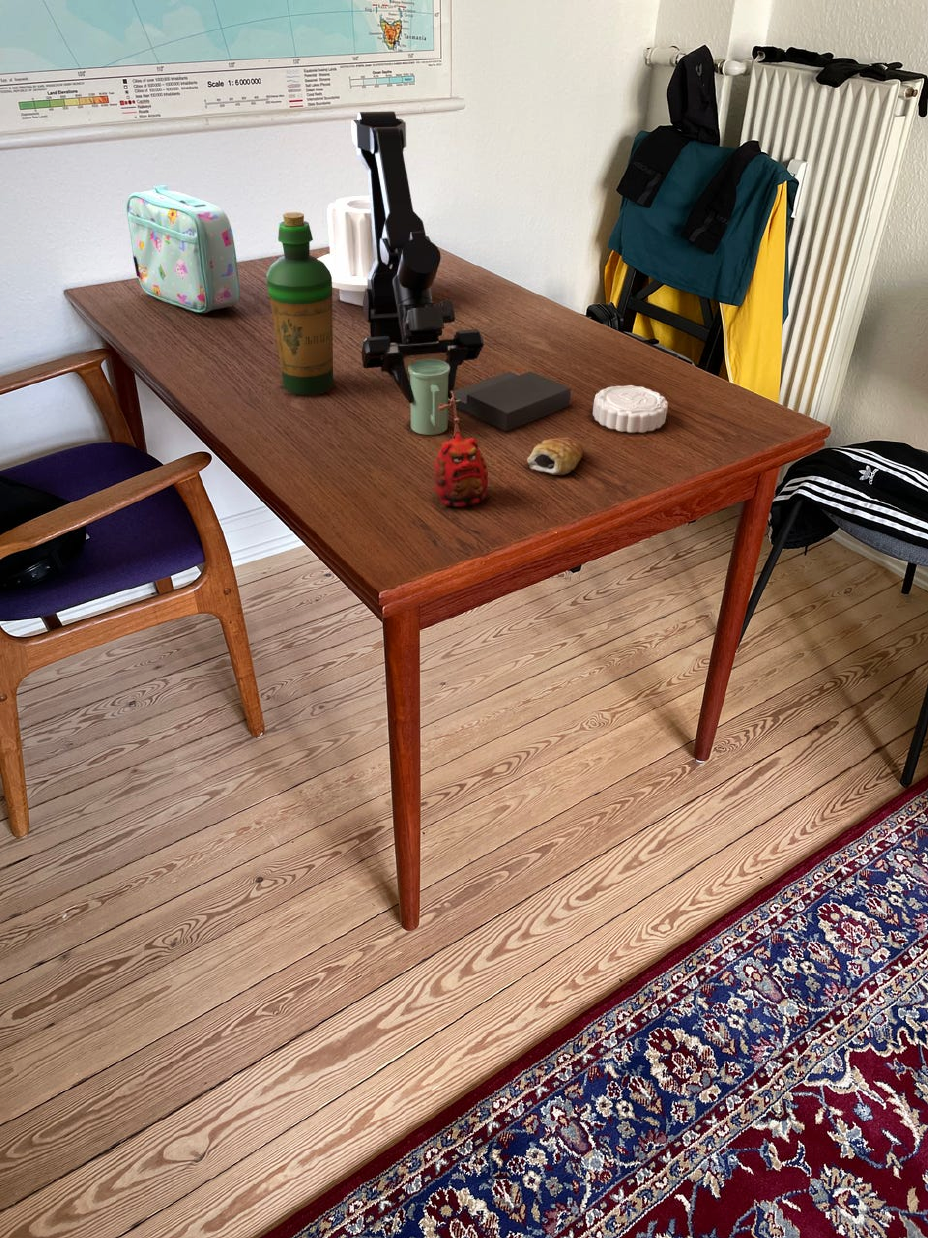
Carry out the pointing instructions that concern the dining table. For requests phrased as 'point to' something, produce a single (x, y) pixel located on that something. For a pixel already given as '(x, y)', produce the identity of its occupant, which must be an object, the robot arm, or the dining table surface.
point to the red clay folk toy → (460, 468)
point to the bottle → (301, 310)
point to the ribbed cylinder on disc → (350, 247)
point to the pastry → (556, 456)
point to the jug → (428, 396)
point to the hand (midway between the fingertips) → (431, 400)
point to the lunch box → (183, 250)
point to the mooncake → (630, 408)
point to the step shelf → (512, 399)
